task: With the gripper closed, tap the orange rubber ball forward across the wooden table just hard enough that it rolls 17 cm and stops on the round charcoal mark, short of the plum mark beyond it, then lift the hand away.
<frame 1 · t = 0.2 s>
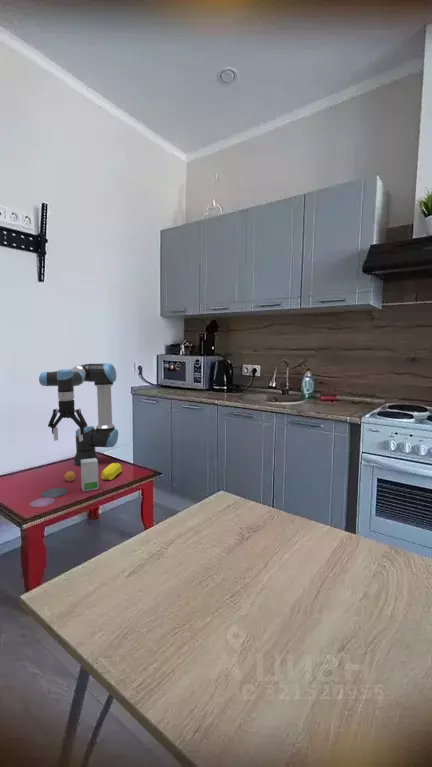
hand: (68, 440, 191), 28 cm above the table, tool pointing down, fingers open, 13 cm apart
ball: (69, 476, 209), on the table
yellow elongated piece: (111, 476, 217), on the table
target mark: (54, 492, 193), on the table
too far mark: (42, 502, 181), on the table
skincare box: (90, 488, 198), on the table
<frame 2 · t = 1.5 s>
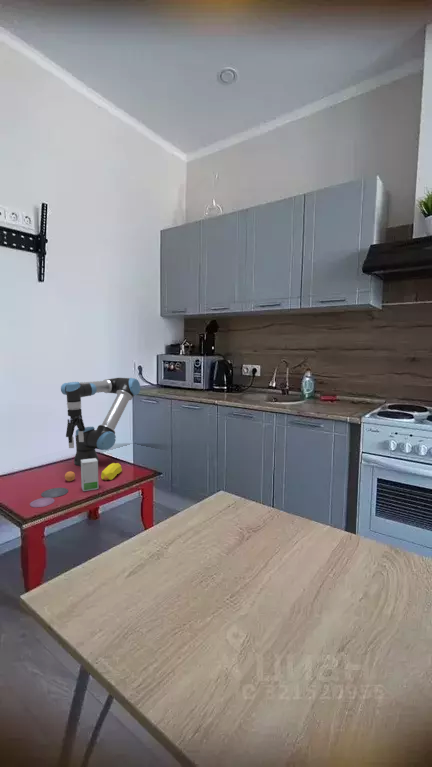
hand: (76, 444, 217), 18 cm above the table, tool pointing down, fingers open, 12 cm apart
nothing on the table moved.
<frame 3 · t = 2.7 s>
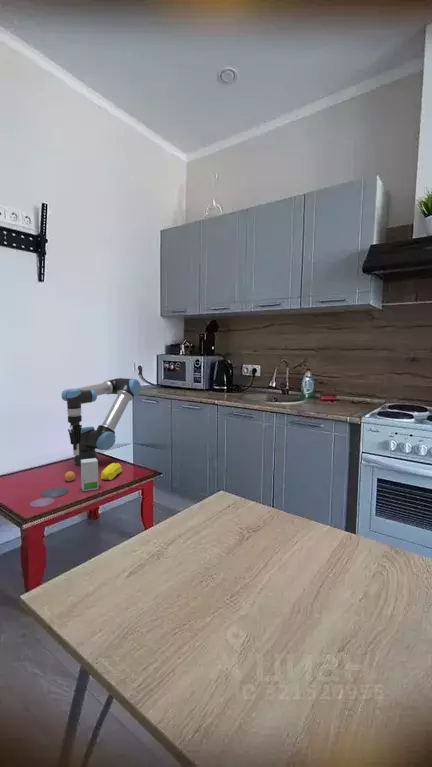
hand: (76, 454, 218), 12 cm above the table, tool pointing down, fingers closed
nothing on the table moved.
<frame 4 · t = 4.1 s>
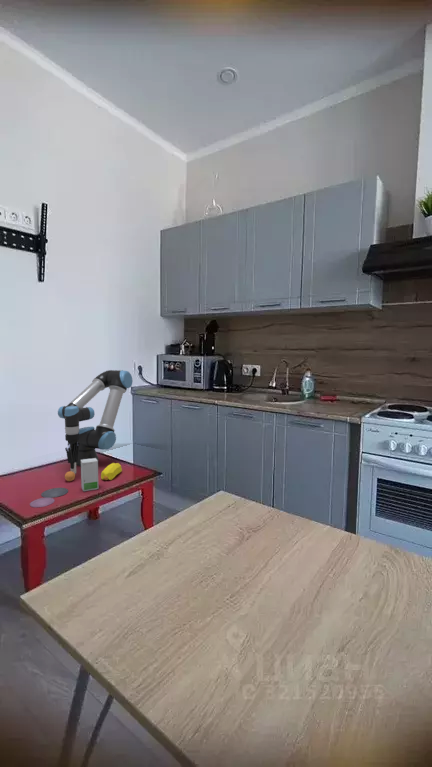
hand: (73, 473, 214), 3 cm above the table, tool pointing down, fingers closed
nothing on the table moved.
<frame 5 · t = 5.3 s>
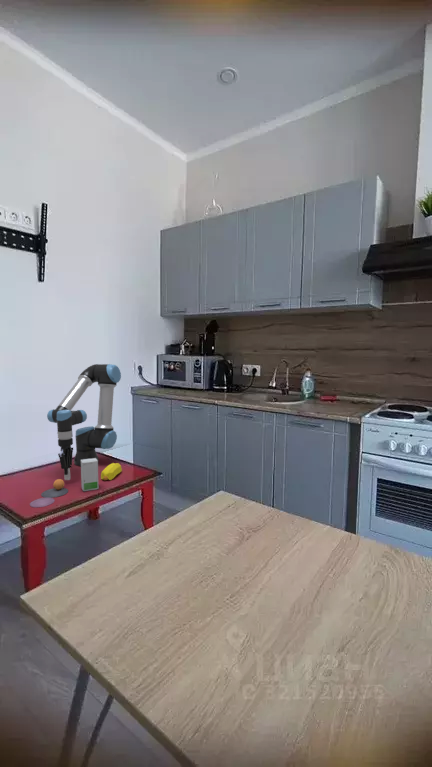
hand: (67, 479, 206), 2 cm above the table, tool pointing down, fingers closed
ball: (58, 484, 197), on the table
everything else where it was.
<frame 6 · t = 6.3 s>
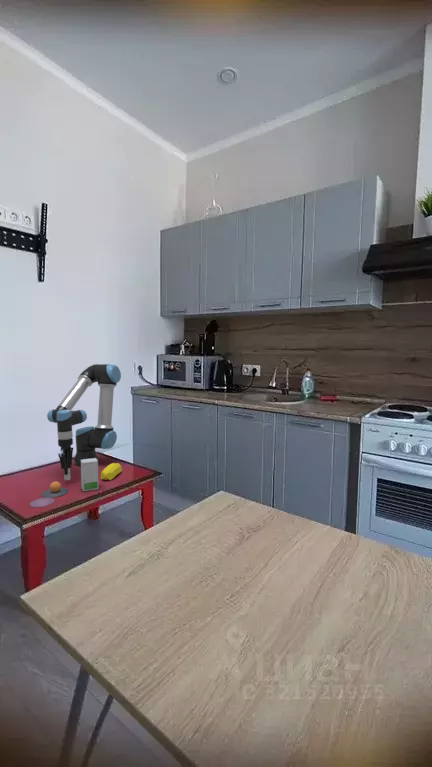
hand: (67, 479, 206), 2 cm above the table, tool pointing down, fingers closed
ball: (55, 486, 194), on the table
everything else where it was.
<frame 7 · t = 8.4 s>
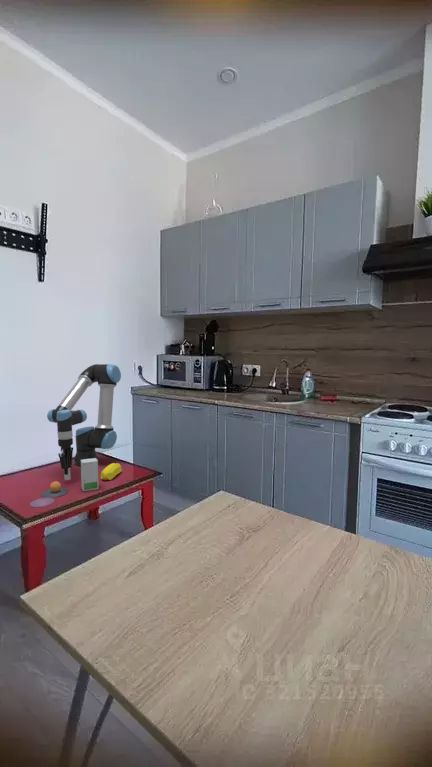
hand: (67, 479, 207), 2 cm above the table, tool pointing down, fingers closed
nothing on the table moved.
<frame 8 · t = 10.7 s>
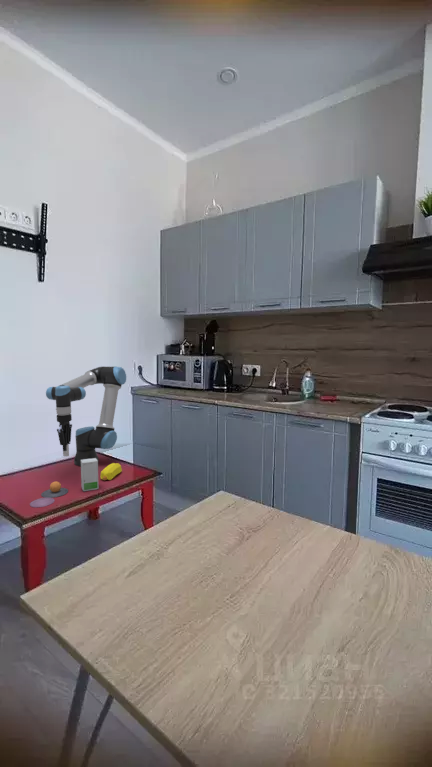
hand: (66, 456, 205), 15 cm above the table, tool pointing down, fingers closed
nothing on the table moved.
at the end: ball 1.2 cm from the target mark (horizontally); ball at rest at the end (0.0 cm/s); ball moved 15.8 cm from its start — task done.
